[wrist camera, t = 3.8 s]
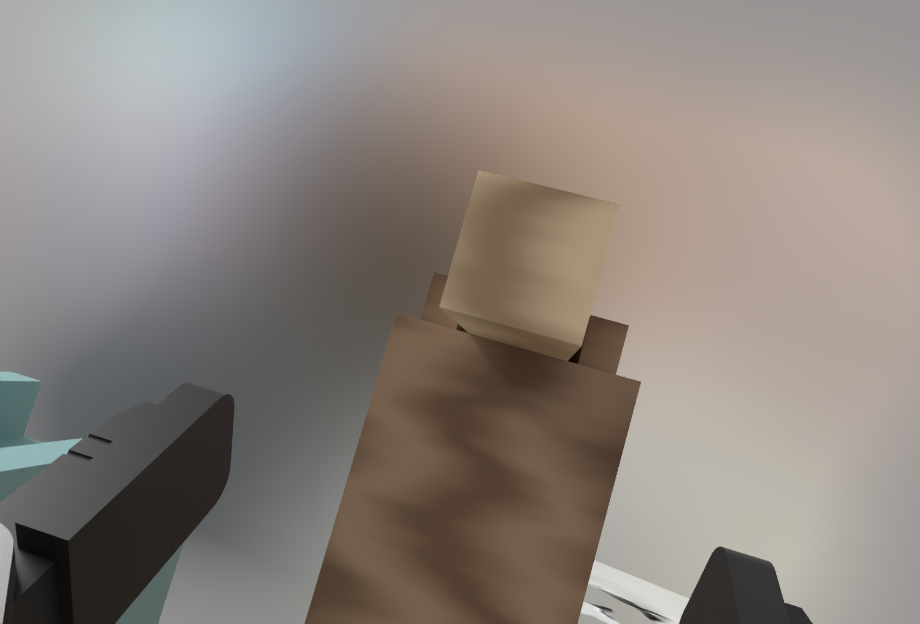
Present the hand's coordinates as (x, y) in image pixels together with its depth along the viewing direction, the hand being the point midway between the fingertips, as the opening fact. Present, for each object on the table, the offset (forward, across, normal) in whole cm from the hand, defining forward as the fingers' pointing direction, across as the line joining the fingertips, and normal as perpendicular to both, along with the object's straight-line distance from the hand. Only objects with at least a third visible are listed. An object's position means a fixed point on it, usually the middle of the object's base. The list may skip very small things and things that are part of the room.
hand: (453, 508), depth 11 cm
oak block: (+19, 0, +7) cm, 20 cm away
